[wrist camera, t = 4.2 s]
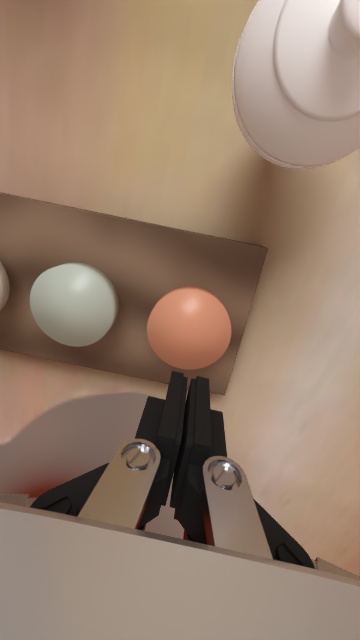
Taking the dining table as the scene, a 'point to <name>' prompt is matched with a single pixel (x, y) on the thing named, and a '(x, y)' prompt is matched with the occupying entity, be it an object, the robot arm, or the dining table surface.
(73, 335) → the sage button
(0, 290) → the cream button
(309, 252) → the dining table surface
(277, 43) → the spinning top
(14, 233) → the button board
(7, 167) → the dining table surface
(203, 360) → the terracotta button
